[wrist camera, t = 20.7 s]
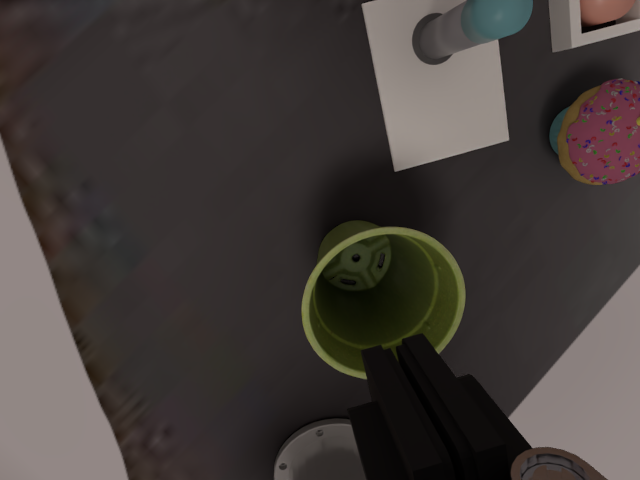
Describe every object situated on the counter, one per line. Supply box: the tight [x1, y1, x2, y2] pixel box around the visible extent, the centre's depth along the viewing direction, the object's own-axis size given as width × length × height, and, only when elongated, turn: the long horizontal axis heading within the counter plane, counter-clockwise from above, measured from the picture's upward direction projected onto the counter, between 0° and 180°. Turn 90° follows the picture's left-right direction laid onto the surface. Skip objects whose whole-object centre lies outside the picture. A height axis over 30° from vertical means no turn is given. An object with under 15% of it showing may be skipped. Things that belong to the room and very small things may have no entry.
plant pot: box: [302, 220, 465, 379], centre depth 35 cm, size 12×12×11 cm
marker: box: [419, 0, 533, 59], centre depth 30 cm, size 3×3×11 cm
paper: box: [362, 0, 509, 172], centre depth 36 cm, size 14×11×1 cm
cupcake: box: [549, 78, 640, 185], centre depth 34 cm, size 9×8×12 cm
